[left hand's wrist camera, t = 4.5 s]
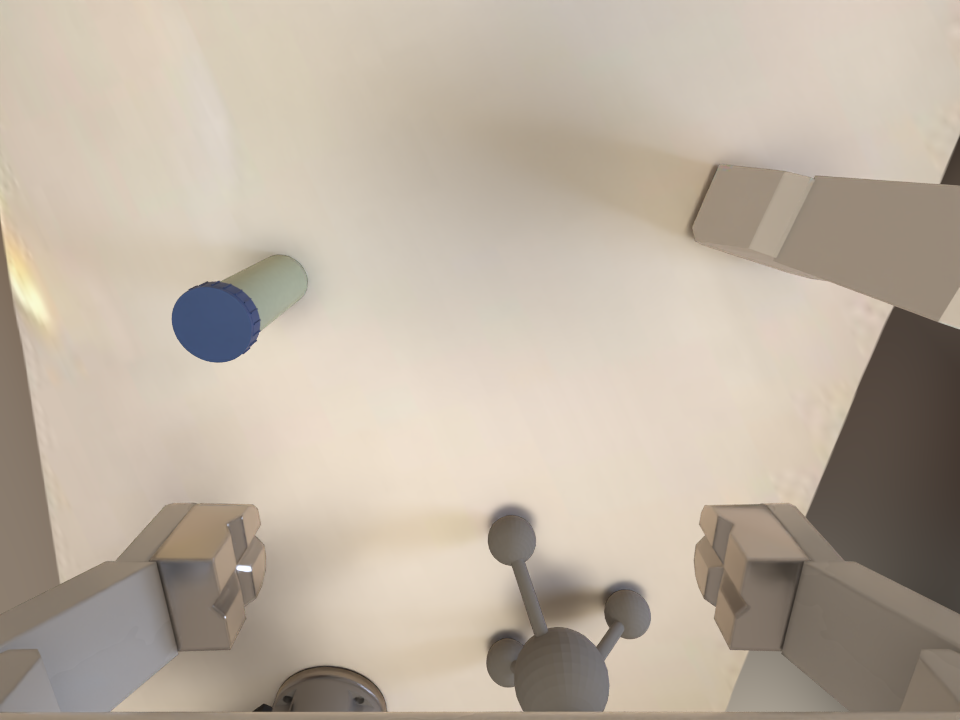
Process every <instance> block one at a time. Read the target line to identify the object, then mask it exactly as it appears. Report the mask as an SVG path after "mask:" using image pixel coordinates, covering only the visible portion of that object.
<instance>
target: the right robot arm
mask: <svg viewBox="0 0 960 720" xmlns="http://www.w3.org/2000/svg"><path fill="white" fill-rule="evenodd" d="M253 712H386V704H385V701H384V698H383V696H382V694H381V693H380V691H379V690H378V689H377V687H376V686H375V685H374V684H373V683H371V682H370V681H369V680H367V679H366V678H364V677H363V676H361V675H359V674H357V673H354V672H352V671H349V670H345V669H340V668H334V667H318V668H312V669H307V670H304V671H301V672H299V673H297V674H295V675H293V676H292V677H290V678H289V679H288V680H286V681H285V682H284V683H283V685H282V686H281V687H280V689H279V691H278V693H277V696H276V699H275V701H274V704H273V707H270V706H268V705H266V704H263V705H261V706H260V707H258V708H257V709H256V710H254V711H253Z"/></svg>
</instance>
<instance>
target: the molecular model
mask: <svg viewBox="0 0 960 720" xmlns="http://www.w3.org/2000/svg"><path fill="white" fill-rule="evenodd" d="M488 545H489V549H490V551H491V553H492V555H493V556H494V558H495V559H497V560H498V561H499V562H501V563H502V564H505V565H510V566H512V568H513V571H514V574H515V577H516V580H517V583H518V586H519V589H520V592H521V595H522V598H523V601H524V604H525V607H526V610H527V613H528V616H529V619H530V623H531V626H532V629H533V632H534V636H533V637H531V638H530V639H529V640H528V641H527V642H526V643H525V645H524V646H523V645H522V644H521V643H520V642H518V641H516V640H514V639H510V638H505V639H501V640H499V641H497V642H496V643H494V644H493V645H492V647H491V648H490V650H489V652H488V655H487V662H486V664H487V670H488V673H489V675H490V677H491V678H492V679H493V681H494V682H496V683H497V684H498V685H500V686H503V687H514V686H515V691H516V696H517V699H518V701H519V703H520V706H521V708H522V710H523V711H524V712H603V711H604V709H605V706H606V703H607V701H608V694H609V678H608V670H607V667H606V665H605V662H604V660H605V659H606V657H607V656H608V654H609V653H610V651H611V650H612V648H613V647H614V645H615V644H616V642H617V641H618V639H619V638H620V637H622V638H625V639H635V638H638V637H640V636H642V635H643V634H644V633H645V632H646V631H647V629H648V627H649V625H650V621H651V613H650V609H649V606H648V604H647V602H646V601H645V599H644V598H643V597H642V596H641V595H639V594H638V593H636V592H634V591H631V590H620V591H617V592H615V593H613V594H612V595H611V596H610V597H609V598H608V600H607V602H606V604H605V610H604V613H605V619H606V622H607V624H608V626H609V630H608V631H607V633H606V634H605V635H604V637H603V638H602V640H601V641H600V643H599V644H598V645H597V647H596V646H595V645H594V644H593V643H592V642H591V641H590V640H589V639H587V638H586V637H585V636H584V635H582V634H580V633H579V632H576V631H574V630H571V629H568V628H563V627H555V628H549V629H547V626H546V623H545V620H544V617H543V614H542V611H541V608H540V605H539V603H538V600H537V597H536V594H535V591H534V588H533V585H532V582H531V579H530V576H529V573H528V570H527V567H526V564H525V562H526V561H527V560H528V559H529V558H530V557H531V555H532V554H533V552H534V549H535V546H536V537H535V533H534V530H533V528H532V527H531V525H530V524H529V523H528V522H527V521H526V520H525V519H523V518H521V517H519V516H514V515H509V516H504V517H502V518H500V519H498V520H497V521H496V522H495V523H494V524H493V525H492V527H491V529H490V531H489V534H488Z"/></svg>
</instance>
